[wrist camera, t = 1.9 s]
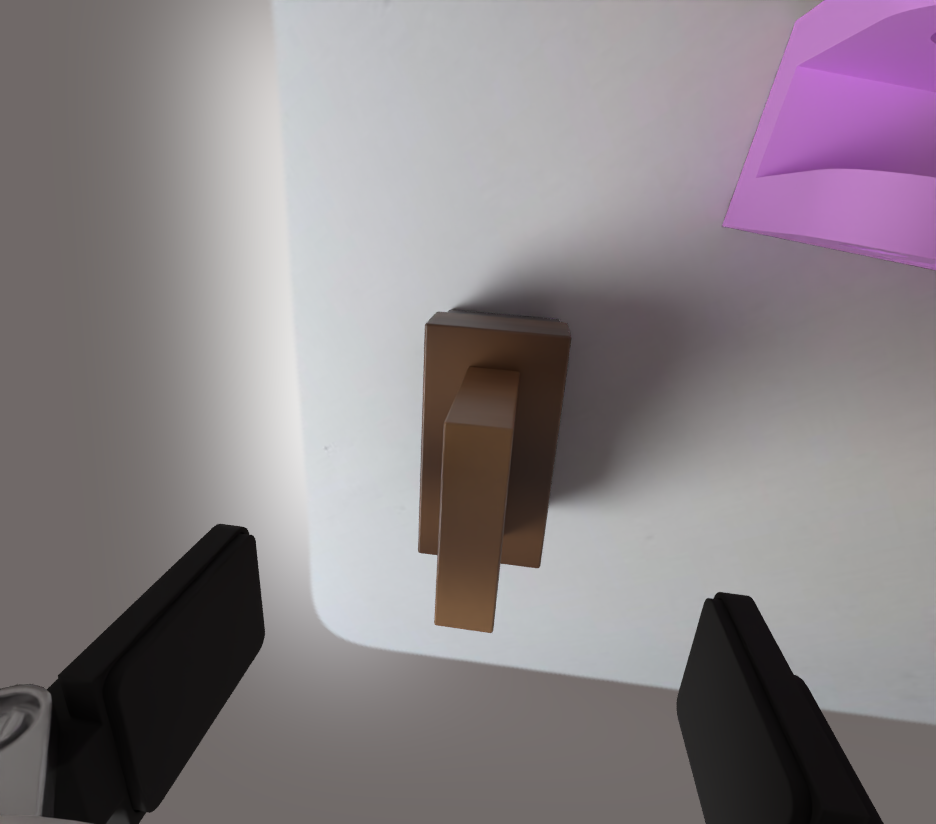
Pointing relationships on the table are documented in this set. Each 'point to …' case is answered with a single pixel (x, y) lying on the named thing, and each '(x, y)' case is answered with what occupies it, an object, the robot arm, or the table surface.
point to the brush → (487, 452)
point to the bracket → (849, 135)
